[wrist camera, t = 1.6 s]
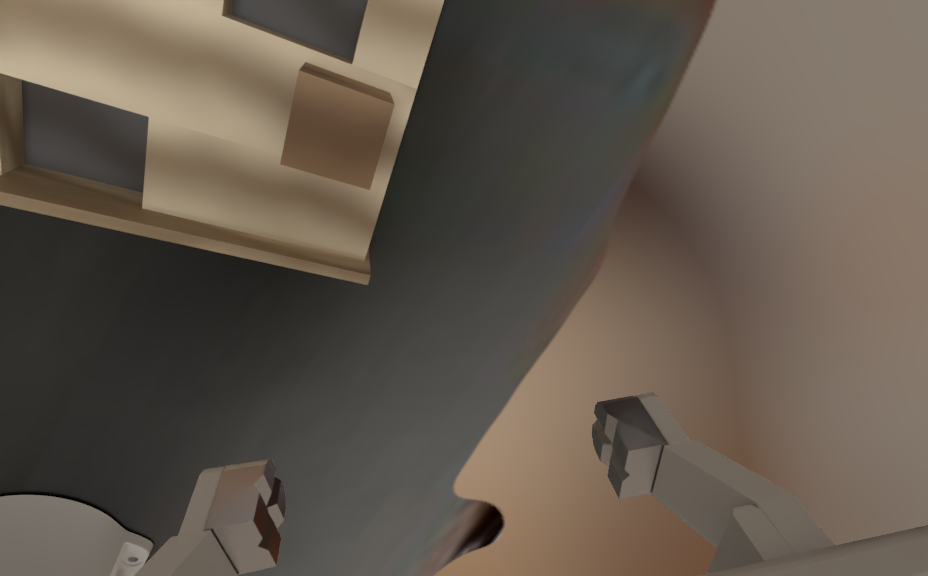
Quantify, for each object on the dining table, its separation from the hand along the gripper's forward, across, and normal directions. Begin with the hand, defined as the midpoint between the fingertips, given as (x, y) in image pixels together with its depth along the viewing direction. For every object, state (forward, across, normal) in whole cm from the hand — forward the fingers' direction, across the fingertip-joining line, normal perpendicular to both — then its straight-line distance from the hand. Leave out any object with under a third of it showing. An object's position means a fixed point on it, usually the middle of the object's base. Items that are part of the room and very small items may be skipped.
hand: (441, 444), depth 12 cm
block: (+23, +3, -3) cm, 23 cm away
